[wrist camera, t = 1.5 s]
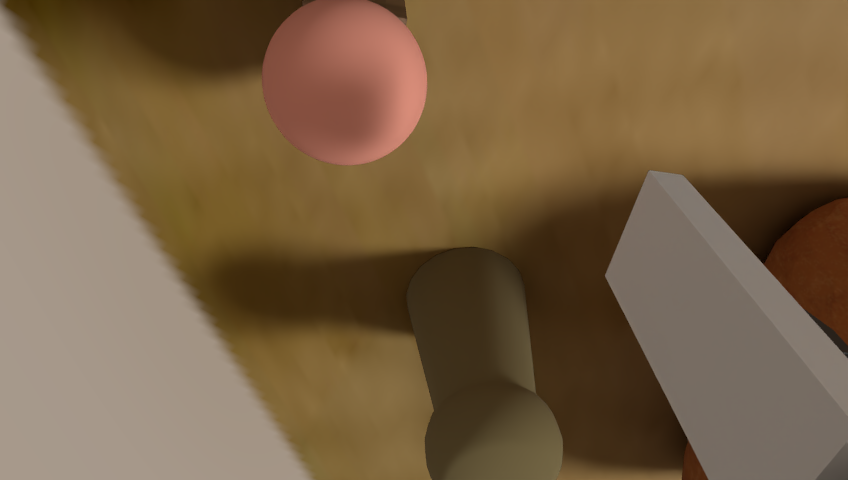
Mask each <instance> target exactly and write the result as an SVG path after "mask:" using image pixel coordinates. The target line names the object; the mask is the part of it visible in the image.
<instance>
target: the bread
mask: <svg viewBox="0 0 848 480" xmlns="http://www.w3.org/2000/svg"><path fill="white" fill-rule="evenodd" d="M763 265H764V266H765V267H766V268H767V269H768V270H769V271H770V272H771V274H772V275H773V276H774V277H775V278H776V279H777V280H778V281H779V282H780V284H781V285H782V286H783V287H784V288H785V289H786V290H787V291H788V293H789V294H790V295H791V296H792V297H793V298H794V299H795V300H796V301H797V303H798V304H799V305H800V306H801V307H802V308H803V309H805V310H807V311H808V312H809V313H811V314H812V315H813V316H815V317H816V318H818V319H819V320H820V321H822V322H823V323H824V324H826V325H827V326H829V327H830V328H831V329H833V330H834V331H835V332H836V333H837V334H838V335H839V337H840V338H841V339H842V340H843V341H844V342H845V343H846V344H847V345H848V198H843V199H837V200H834V201H832V202H830V203H828V204H826V205H823V206H821V207H819V208H817V209H815V210H813V211H812V212H810V213H809V214H808V215H806V216H805V217H804V218H802V219H801V220H800V221H798V222H797V223H796V224H795V225H794V226H793V227H791V228H790V229H789V230H788V231H787V232H786V233H785V234H784V235H783V236H782V237H780V238H779V239H778V240H777V241H776V242H775V244H774V246H773V248H772V250H771V252H770V254H769V256H768V258H767V259H766V261H765V263H764V264H763ZM682 480H708V478H707V476H706V474H705V472H704V470H703V468H702V466H701V464H700V462H699V460H698V458H697V456H696V454H695V452H694V450H693V448H692V446H691V444H690V442H689V440H688V443H687V446H686V450H685V453H684V462H683V472H682Z"/></svg>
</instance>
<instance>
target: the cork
mask: <svg viewBox="0 0 848 480" xmlns="http://www.w3.org/2000/svg"><path fill="white" fill-rule="evenodd" d="M406 296H407V305H408V311H409V315H410V319H411V323H412V327H413V331H414V334H415V338H416V342H417V346H418V350H419V354H420V358H421V361H422V365H423V369H424V373H425V377H426V381H427V384H428V388H429V392H430V396H431V400H432V404H433V408H434V412H433V414H432V416H431V419H430V422H429V425H428V428H427V432H426V436H425V453H426V463H427V468H428V471H429V473H430V476H431V478H432V480H556V479H557V477H558V474H559V472H560V469H561V467H562V458H563V439H562V436H561V432H560V429H559V427H558V424H557V422H556V419H555V417H554V415H553V413H552V411H551V410H550V408H549V407H548V405H547V404H546V403H545V402H544V401H543V400H542V399H541V398H540V397H539V396H538V395H537V394H536V389H535V379H534V370H533V361H532V352H531V342H530V333H529V324H528V314H527V305H526V296H525V286H524V282H523V280H522V277H521V275H520V272H519V270H518V269H517V268H516V267H515V266H514V265H513V264H512V263H511V261H510V260H509V259H508V258H506V257H504V256H502V255H500V254H498V253H496V252H494V251H492V250H486V249H481V248H476V247H469V248H458V249H452V250H449V251H447V252H444V253H441V254H438V255H436V256H434V257H433V258H432V259H430V260H429V261H427V262H426V263H425V264H423V265H422V266H421V267H420V268H419V269H418V271H417V272H416V273H415V275H414V276H413V277H412V279H411V281H410V284H409V287H408V291H407V294H406Z"/></svg>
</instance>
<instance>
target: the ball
mask: <svg viewBox="0 0 848 480" xmlns="http://www.w3.org/2000/svg"><path fill="white" fill-rule="evenodd" d="M262 87H263V93H264V99H265V102H266V105H267V109H268V111H269V113H270V115H271V117H272V119H273V121H274V123H275V124H276V126H277V128H278V129H279V130H280V132H281V133H282V134H283V135H284V137H285V138H286V139H287V140H288V141H289V142H290V143H291V144H292V145H294V146H295V147H296V148H297V149H299V150H300V151H302V152H303V153H305V154H307V155H308V156H311V157H313V158H315V159H317V160H320V161H323V162H326V163H331V164H336V165H358V164H364V163H368V162H371V161H375V160H377V159H379V158H382V157H384V156H385V155H387V154H389V153H390V152H392V151H393V150H395V149H396V148H397V147H398V146H400V145H401V144H402V143H403V142H404V141H405V140H406V139H407V138H408V136H409V135H410V134H411V132H412V131H413V130H414V128H415V126H416V124H417V123H418V121H419V119H420V116H421V114H422V111H423V108H424V104H425V100H426V93H427V73H426V66H425V62H424V59H423V55H422V53H421V50H420V48H419V46H418V44H417V41H416V40H415V38H414V36H413V35H412V33H411V32H410V30H409V29H408V28H407V27H406V25H405V24H404V23H403V22H402V21H401V20H400V19H399V18H398V17H397V16H395V15H394V14H393V13H391V12H390V11H389V10H387V9H385V8H384V7H382V6H380V5H378V4H376V3H373V2H371V1H368V0H316V1H312V2H310V3H308V4H306V5H304V6H302V7H301V8H299V9H298V10H296V11H295V12H293V13H292V14H291V15H290V16H289V17H288V18H287V19H286V20H285V21H284V22H283V23H282V24H281V25H280V27H279V28H278V29H277V30H276V32H275V34H274V35H273V37H272V39H271V41H270V43H269V46H268V48H267V51H266V54H265V58H264V62H263V69H262Z"/></svg>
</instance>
